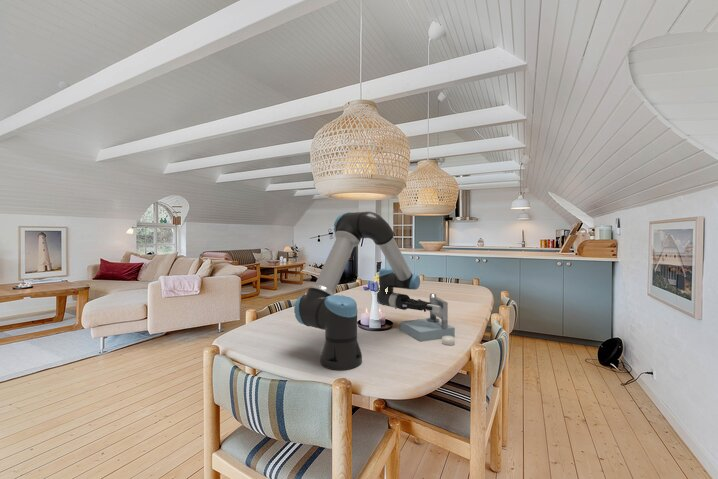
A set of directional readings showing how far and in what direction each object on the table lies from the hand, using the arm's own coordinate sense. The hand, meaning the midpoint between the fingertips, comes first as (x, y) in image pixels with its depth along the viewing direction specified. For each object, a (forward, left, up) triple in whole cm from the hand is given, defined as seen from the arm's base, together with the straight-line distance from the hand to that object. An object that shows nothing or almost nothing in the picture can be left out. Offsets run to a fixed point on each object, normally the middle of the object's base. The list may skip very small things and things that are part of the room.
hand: (439, 309), depth 138 cm
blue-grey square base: (+8, +1, -13) cm, 15 cm away
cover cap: (-7, +1, -10) cm, 13 cm away
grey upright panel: (+6, -4, -8) cm, 11 cm away
